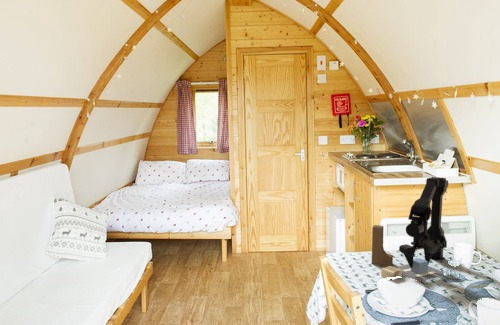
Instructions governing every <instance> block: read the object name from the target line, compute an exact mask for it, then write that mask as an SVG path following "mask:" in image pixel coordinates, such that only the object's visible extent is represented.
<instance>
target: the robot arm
mask: <svg viewBox="0 0 500 325" xmlns="http://www.w3.org/2000/svg"><path fill="white" fill-rule="evenodd" d="M448 187H449V180H447V178H446V177H438V176H437V177H436V176H431V177H427V178H426V181H425V185H424V188H423V190H422V192H421V195H420V197H419V198H418V199H416V200H415V201H414V202H413V204H412V205H411V207H410V210H409V214H408V217H407V218H408V220H410V223H409V224H407V225H406V227H405V232H406V234H407V236H409V237H411V238H413V239H412V241H411V242H410V245H409V244H407V243H405V244H401V245H399V246H398V251H399V252H400V253H401V254H403V256H404V258H405V259H406V262H407V265H408V264H409V266H410V267H411V268H412V267H413V259H414V257H415V256H416V251H419V250H423V254H424V260H426V261H428V265H430V261H431V260H432V261H433V260H434V261H441V260H442V261H443V260H446V257H444V249H446V248H448V246H447V245H448V244H447V243H448V242H447V238H446V235H445V230H444V229H443V227H442V212H443V199H444V198H443V196H444V195H445V194H446V192H447V190H448ZM428 221H430V225H428V224H429V222H428ZM428 226H429V227H428Z"/></svg>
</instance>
